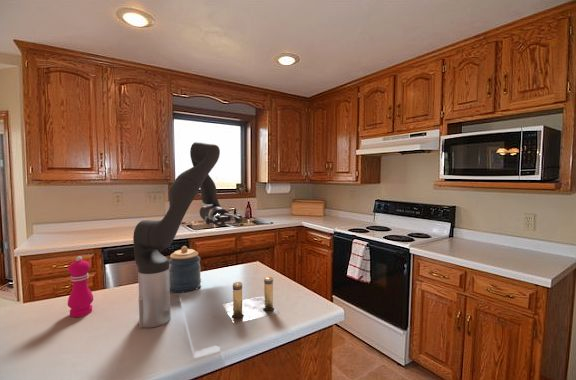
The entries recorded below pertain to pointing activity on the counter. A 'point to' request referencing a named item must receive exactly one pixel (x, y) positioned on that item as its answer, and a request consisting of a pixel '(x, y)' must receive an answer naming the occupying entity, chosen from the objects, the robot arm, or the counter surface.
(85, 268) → the pepper mill
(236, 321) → the flange plate
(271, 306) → the fixed brass leg
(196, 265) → the canister
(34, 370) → the counter surface
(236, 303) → the loose brass leg
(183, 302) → the counter surface
